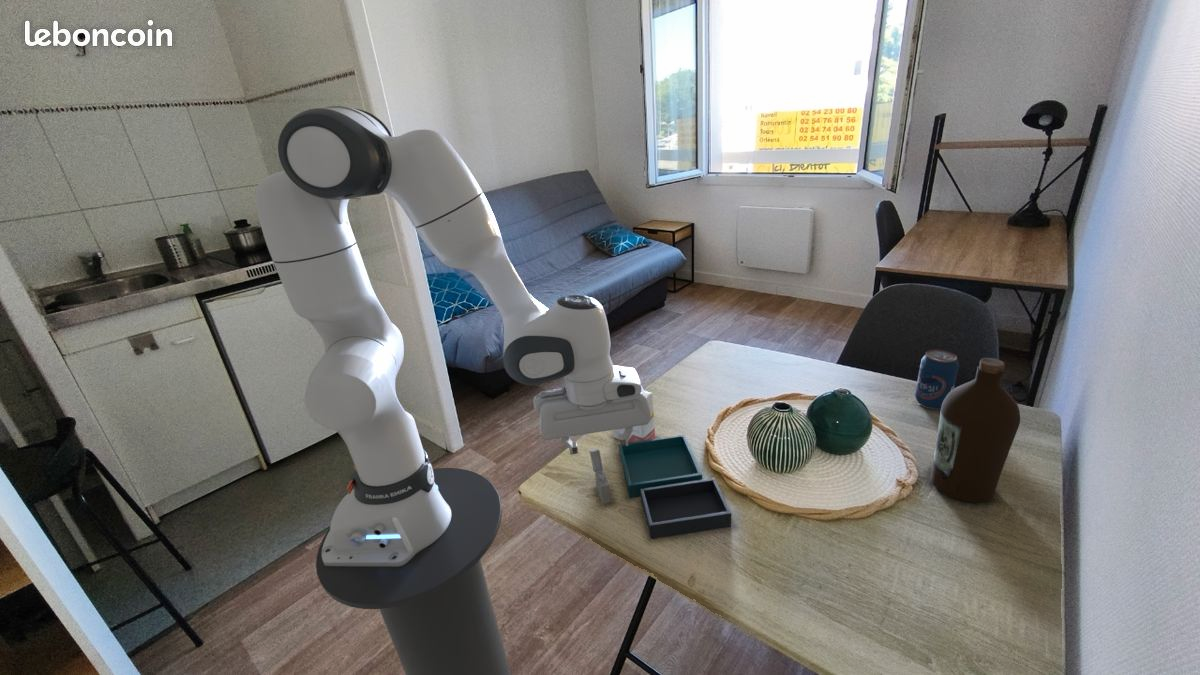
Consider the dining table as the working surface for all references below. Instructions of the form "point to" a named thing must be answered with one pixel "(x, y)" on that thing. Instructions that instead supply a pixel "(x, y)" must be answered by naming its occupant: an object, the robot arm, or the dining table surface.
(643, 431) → the ink cartridge box
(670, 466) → the back tray
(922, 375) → the soda can
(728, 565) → the dining table surface
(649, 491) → the front tray
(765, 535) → the dining table surface
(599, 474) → the lighter
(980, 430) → the brown bottle
